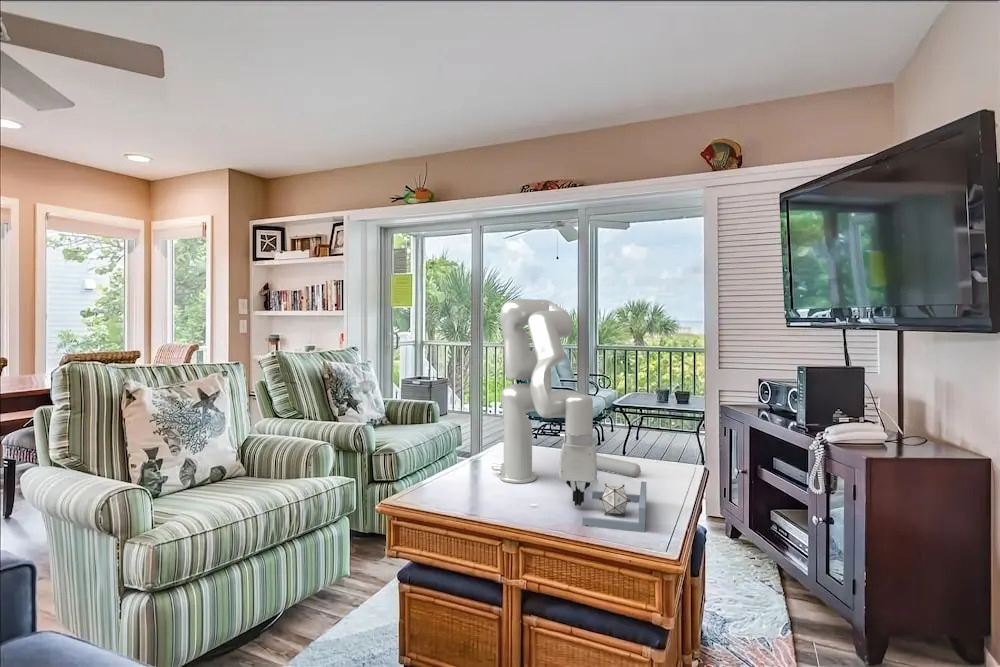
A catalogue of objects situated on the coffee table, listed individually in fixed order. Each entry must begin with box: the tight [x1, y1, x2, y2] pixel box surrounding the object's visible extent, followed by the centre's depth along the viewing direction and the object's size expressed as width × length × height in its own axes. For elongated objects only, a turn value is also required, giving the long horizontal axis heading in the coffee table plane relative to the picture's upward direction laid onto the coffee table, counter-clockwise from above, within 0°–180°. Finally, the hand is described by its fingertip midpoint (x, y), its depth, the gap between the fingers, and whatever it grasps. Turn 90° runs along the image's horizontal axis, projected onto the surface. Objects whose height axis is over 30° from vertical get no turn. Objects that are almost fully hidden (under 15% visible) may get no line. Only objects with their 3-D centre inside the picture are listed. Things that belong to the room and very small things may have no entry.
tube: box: [596, 454, 642, 478], centre depth 187 cm, size 5×5×25 cm
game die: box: [598, 482, 631, 518], centre depth 145 cm, size 9×8×10 cm
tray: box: [581, 480, 647, 533], centre depth 145 cm, size 16×23×6 cm
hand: (578, 504), depth 148 cm, fingers closed
